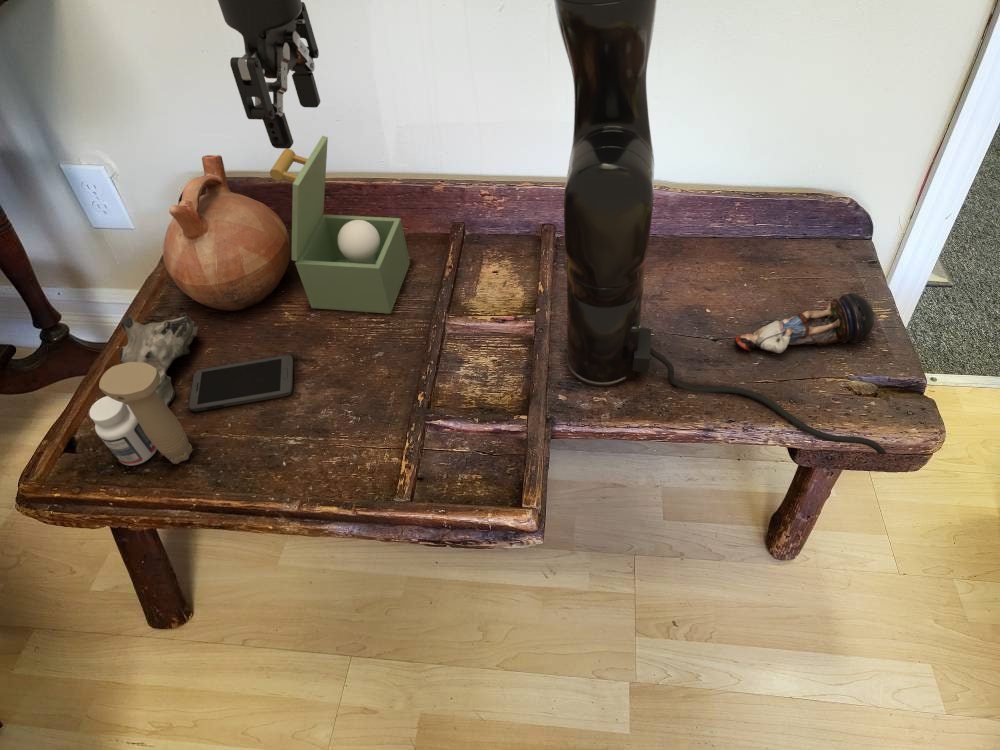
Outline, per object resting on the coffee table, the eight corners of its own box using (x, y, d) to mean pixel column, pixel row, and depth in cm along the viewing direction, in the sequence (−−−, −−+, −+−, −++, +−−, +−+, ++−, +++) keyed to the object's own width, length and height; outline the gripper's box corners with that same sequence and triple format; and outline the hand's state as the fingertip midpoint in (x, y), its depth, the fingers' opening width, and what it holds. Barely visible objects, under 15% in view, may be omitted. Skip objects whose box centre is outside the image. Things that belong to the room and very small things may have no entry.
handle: (196, 471, 92) (144, 395, 81) (149, 468, 93) (91, 392, 82) (211, 441, 95) (163, 363, 84) (165, 438, 96) (112, 360, 85)
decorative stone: (185, 407, 98) (136, 357, 91) (129, 419, 100) (78, 370, 94) (221, 327, 109) (180, 276, 102) (170, 339, 111) (127, 290, 105)
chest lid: (327, 137, 101) (291, 125, 101) (298, 185, 94) (259, 173, 93) (323, 212, 111) (290, 202, 111) (296, 261, 104) (261, 251, 104)
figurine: (886, 308, 91) (738, 326, 94) (881, 353, 95) (738, 369, 98) (865, 280, 98) (726, 298, 100) (860, 323, 101) (727, 340, 104)
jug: (276, 330, 108) (229, 219, 93) (165, 323, 111) (102, 215, 96) (316, 251, 120) (280, 141, 105) (214, 246, 123) (165, 139, 108)
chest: (410, 263, 116) (400, 218, 110) (390, 313, 109) (379, 268, 102) (335, 259, 118) (321, 214, 112) (311, 308, 111) (294, 263, 104)
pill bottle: (145, 427, 97) (114, 384, 91) (167, 446, 95) (137, 403, 88) (110, 453, 95) (75, 410, 88) (131, 473, 93) (97, 431, 86)
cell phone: (293, 395, 99) (291, 392, 99) (189, 413, 98) (187, 409, 98) (294, 356, 104) (292, 353, 103) (195, 373, 103) (193, 369, 103)
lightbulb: (390, 267, 115) (377, 209, 106) (388, 294, 111) (373, 235, 102) (352, 270, 115) (335, 212, 107) (348, 297, 111) (330, 239, 103)
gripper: (257, -4, 62) (308, 163, 75) (313, -64, 72) (350, 93, 84) (177, -4, 64) (240, 160, 76) (242, -62, 73) (289, 92, 85)
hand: (298, 125), depth 80 cm, fingers open, 8 cm apart
